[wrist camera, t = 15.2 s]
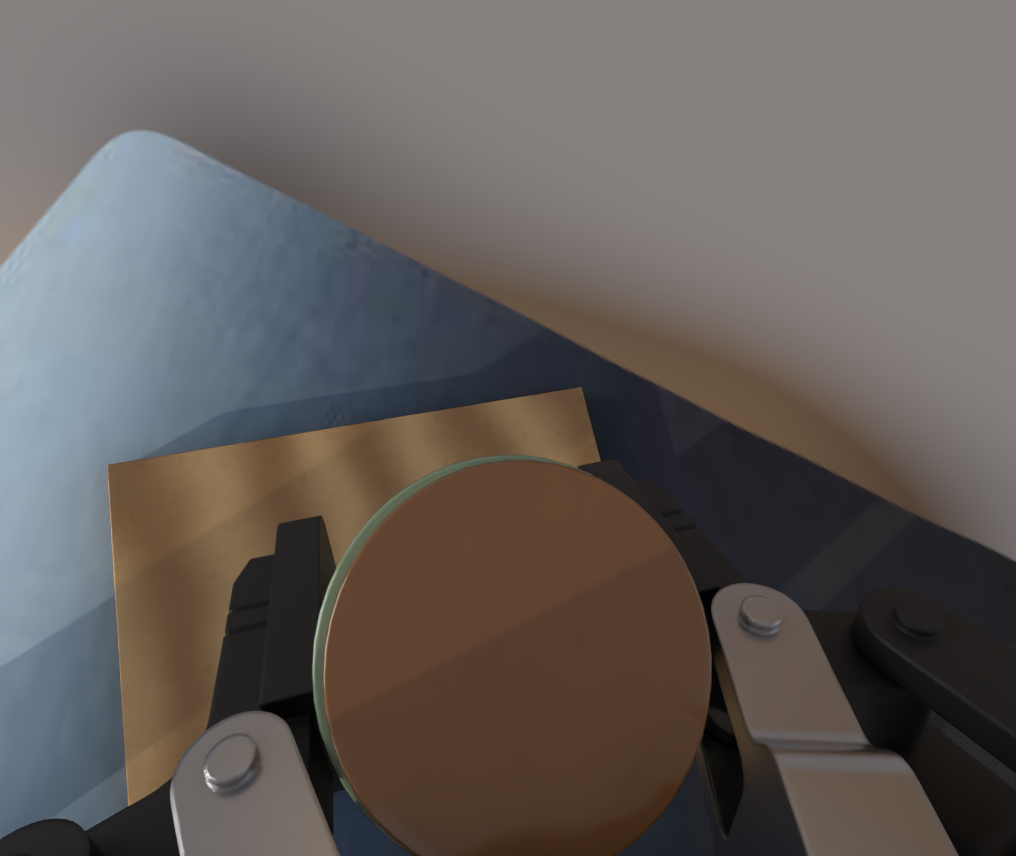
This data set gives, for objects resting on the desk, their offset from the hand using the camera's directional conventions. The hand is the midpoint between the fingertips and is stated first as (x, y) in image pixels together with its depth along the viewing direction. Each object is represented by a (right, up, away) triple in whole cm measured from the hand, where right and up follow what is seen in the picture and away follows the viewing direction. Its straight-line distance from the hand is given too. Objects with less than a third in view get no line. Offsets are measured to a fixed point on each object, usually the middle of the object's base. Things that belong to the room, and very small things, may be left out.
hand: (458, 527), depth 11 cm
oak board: (-5, -6, +18) cm, 19 cm away
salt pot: (0, -3, +4) cm, 5 cm away
